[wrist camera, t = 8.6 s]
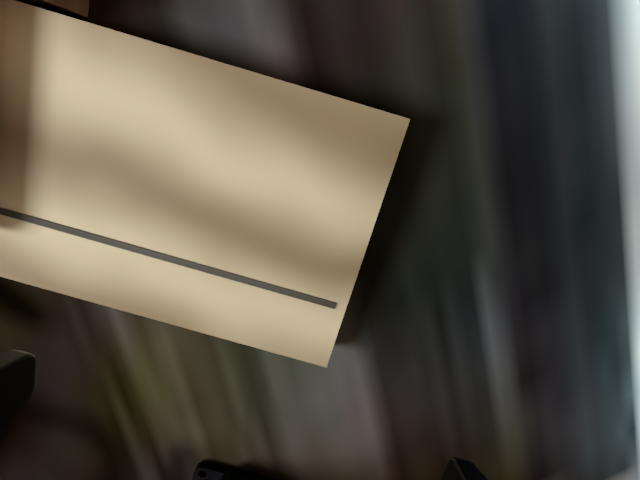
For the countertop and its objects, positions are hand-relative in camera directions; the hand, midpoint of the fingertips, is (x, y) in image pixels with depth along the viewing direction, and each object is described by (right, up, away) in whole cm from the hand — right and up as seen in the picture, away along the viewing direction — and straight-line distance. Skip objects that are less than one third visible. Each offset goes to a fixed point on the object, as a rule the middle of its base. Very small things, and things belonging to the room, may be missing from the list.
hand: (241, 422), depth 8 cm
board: (-10, +8, +10) cm, 16 cm away
